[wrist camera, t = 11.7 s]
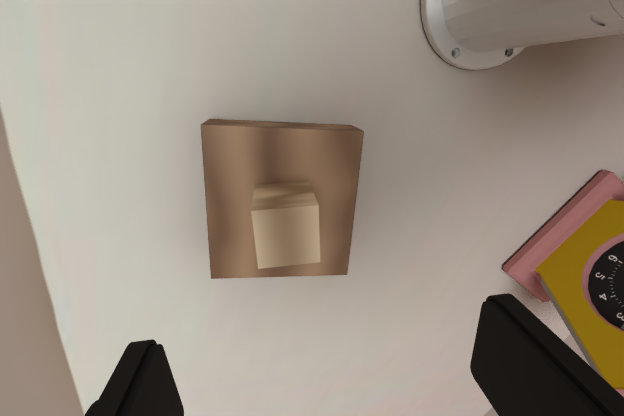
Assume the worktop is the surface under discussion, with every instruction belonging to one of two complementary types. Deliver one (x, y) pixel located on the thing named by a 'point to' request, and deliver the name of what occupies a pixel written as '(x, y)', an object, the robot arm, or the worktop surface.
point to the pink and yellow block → (583, 272)
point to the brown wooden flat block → (271, 170)
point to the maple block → (285, 224)
